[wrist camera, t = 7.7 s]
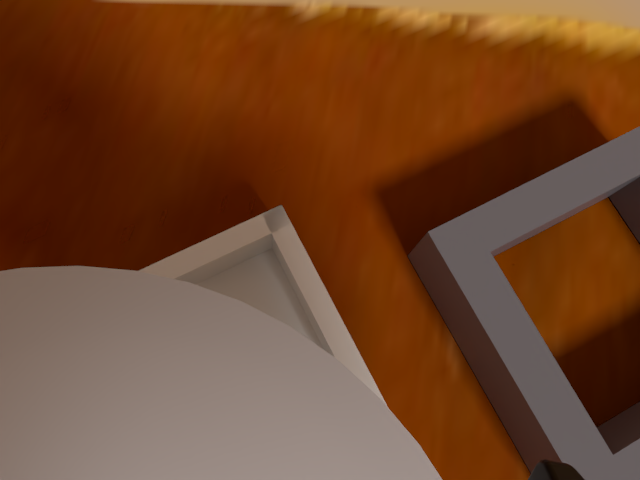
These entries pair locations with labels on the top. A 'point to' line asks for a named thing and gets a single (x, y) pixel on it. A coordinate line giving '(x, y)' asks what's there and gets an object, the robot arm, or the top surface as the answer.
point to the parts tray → (269, 282)
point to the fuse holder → (515, 324)
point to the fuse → (177, 388)
